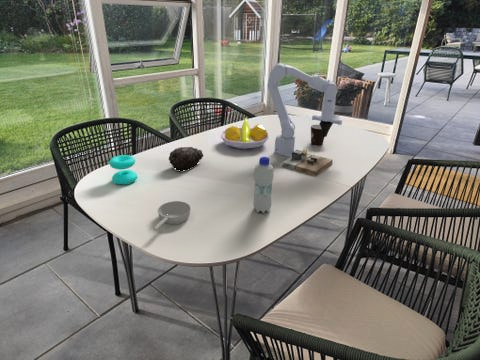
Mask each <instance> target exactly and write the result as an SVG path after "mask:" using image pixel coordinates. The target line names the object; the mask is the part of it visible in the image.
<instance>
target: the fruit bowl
mask: <svg viewBox="0 0 480 360" xmlns="http://www.w3.org/2000/svg"><path fill="white" fill-rule="evenodd" d="M220 138H221V139H222V141H223V142H224V143H225V145H226V146H229V147H232V148H236V149H237V150H238V149H239V150H243V149H244V150H245V149H247V150H248V149H255V148H258V147H262V146H263V145H264V144H266V142H267V140H269V138H270V135H269V132H268V131H267V129H266V128H265V127H264V126H263V125H262V124H256V125H254V127H252V128H251V127H250V125H249V122H248V119H247V117H244V121H243V123H242V126H241V127H237V126H234V125H231V126H229V127H228V128H225V130H223V131H221V133H220Z"/></svg>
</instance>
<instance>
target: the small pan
mask: <svg viewBox="0 0 480 360" xmlns="http://www.w3.org/2000/svg"><path fill="white" fill-rule="evenodd" d="M157 213H158V217H159V219H160V221H159V222H157V224H156V225H155V226H154V227H153V230H158V229H159V228H160V227H161V226H162V225H164V223H165V224H167V225H179V224H183V223H184V222H186V221H187V219H188V218H189V217H190V215H191V206H190V204H189V203H187V202H185V201H178V200H177V201H176V200H175V201H174V200H173V201H168V202H166V203H163V204H161V205H160V206H159V207H157ZM167 214H168V215H167Z"/></svg>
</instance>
